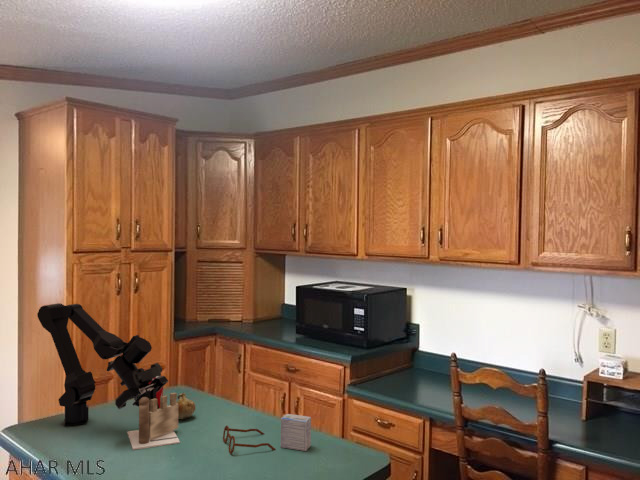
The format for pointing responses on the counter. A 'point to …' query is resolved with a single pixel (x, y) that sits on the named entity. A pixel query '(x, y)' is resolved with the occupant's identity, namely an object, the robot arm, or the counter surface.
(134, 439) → the card
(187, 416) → the onion
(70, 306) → the robot arm
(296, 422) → the medicine box
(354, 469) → the counter surface
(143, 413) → the gatepost
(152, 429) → the fence section
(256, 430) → the glasses
